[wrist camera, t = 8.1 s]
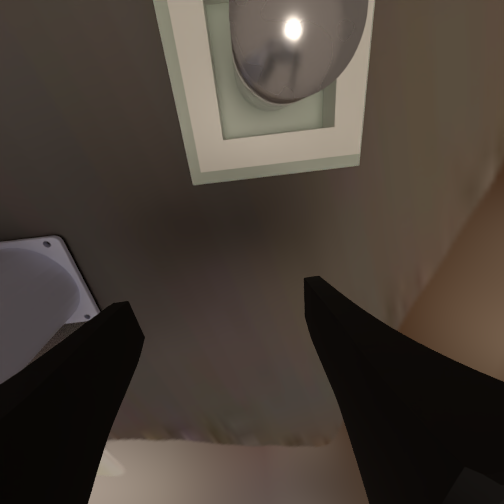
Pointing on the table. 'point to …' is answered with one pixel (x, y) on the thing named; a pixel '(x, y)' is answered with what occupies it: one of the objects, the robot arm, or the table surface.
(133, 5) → the table surface
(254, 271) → the table surface
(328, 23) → the grey cylinder
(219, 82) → the socket
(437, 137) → the table surface
